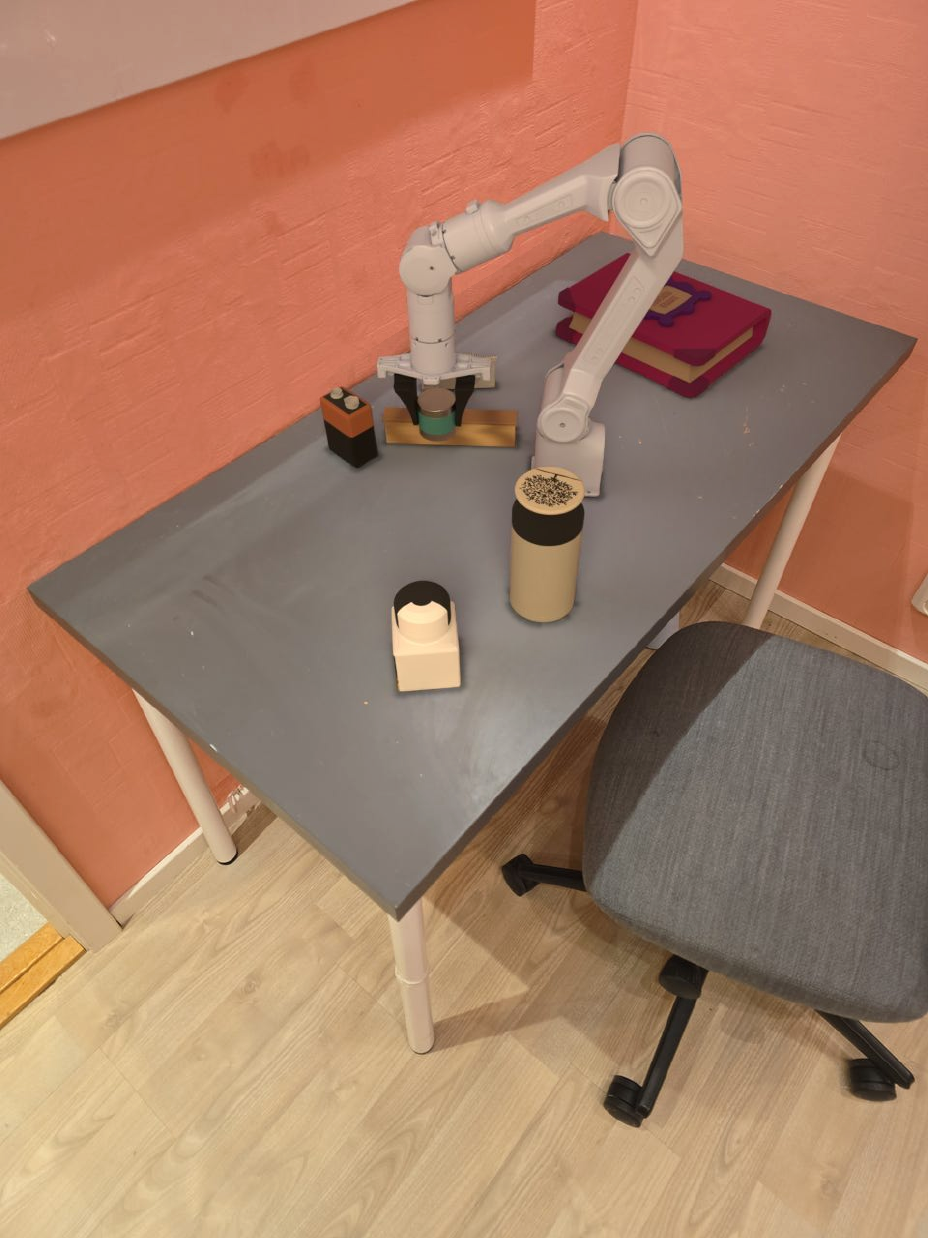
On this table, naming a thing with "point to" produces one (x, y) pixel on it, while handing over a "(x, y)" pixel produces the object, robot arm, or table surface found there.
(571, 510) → the travel mug
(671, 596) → the table surface
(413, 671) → the cream block figurine
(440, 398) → the tin can
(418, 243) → the robot arm
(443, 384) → the lattice window wall
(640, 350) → the book
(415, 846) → the table surface
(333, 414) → the battery
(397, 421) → the wooden block
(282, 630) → the table surface
